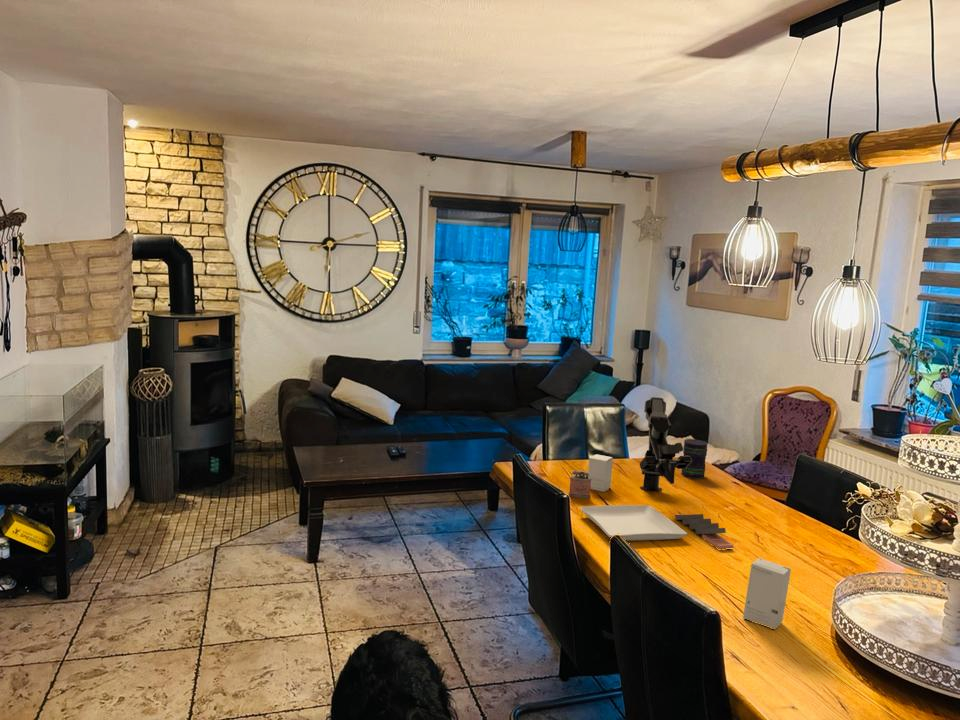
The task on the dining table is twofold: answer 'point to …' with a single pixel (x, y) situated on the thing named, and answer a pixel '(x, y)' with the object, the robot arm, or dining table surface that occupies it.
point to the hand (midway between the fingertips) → (672, 483)
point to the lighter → (580, 484)
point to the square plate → (633, 522)
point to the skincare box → (766, 593)
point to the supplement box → (600, 472)
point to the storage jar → (695, 458)
